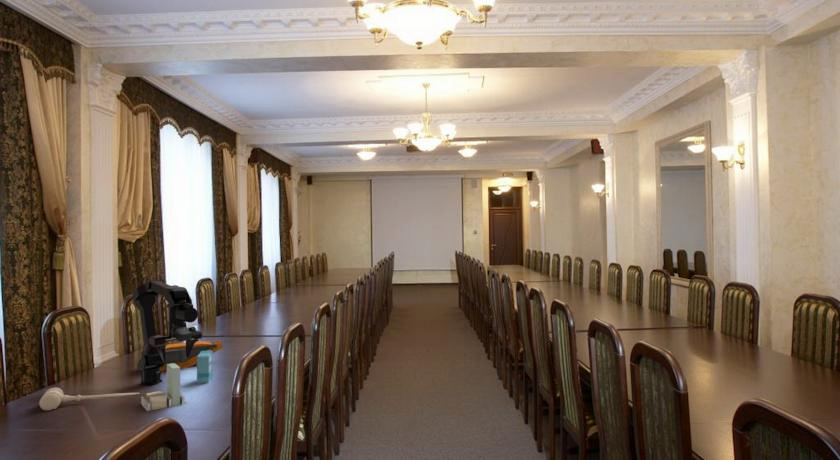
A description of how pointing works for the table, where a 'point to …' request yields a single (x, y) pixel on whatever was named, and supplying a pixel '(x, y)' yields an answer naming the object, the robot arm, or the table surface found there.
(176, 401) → the pale green slab
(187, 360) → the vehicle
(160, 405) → the offcut lower
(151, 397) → the offcut upper
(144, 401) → the rack
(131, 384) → the table surface
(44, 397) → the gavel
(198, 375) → the data package
